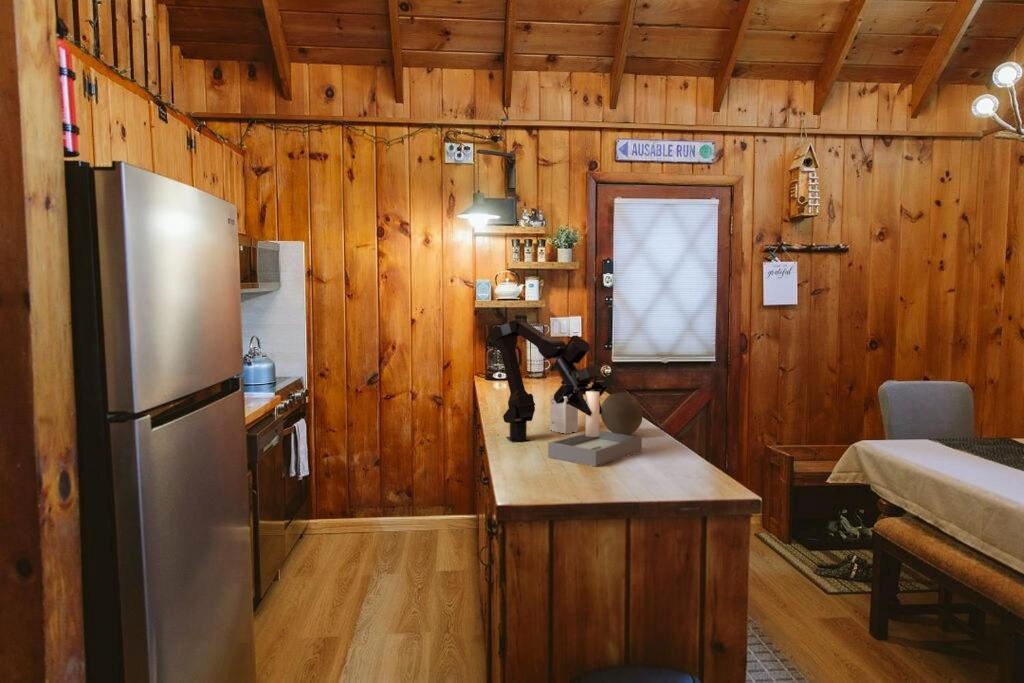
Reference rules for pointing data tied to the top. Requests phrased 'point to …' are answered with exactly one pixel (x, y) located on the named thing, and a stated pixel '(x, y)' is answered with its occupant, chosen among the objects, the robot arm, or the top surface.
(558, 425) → the small box
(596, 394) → the peg
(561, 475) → the top surface
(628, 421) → the brown ball
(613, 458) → the tray
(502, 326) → the robot arm
